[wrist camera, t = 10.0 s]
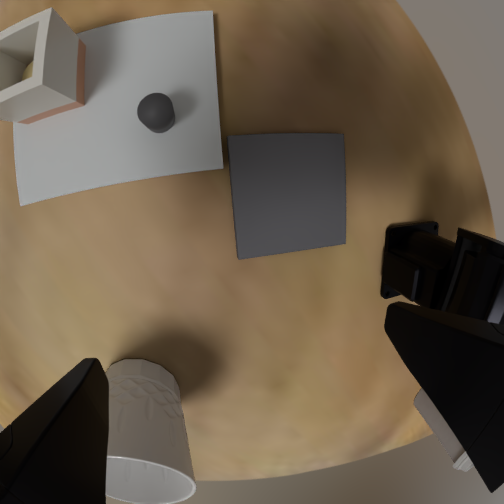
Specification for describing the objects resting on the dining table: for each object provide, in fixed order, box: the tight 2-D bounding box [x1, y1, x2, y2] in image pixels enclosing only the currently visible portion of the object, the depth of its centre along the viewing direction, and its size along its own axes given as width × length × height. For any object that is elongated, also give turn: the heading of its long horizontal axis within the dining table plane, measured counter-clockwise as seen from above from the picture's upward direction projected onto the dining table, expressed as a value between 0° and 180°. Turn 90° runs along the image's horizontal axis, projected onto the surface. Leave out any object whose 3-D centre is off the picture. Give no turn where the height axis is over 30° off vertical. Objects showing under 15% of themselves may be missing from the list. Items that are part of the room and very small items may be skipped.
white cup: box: [105, 359, 196, 504], centre depth 17 cm, size 8×8×10 cm
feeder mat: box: [227, 133, 346, 260], centre depth 19 cm, size 8×8×1 cm
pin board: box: [13, 11, 223, 206], centre depth 13 cm, size 14×11×4 cm
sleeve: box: [0, 7, 86, 124], centre depth 9 cm, size 4×4×6 cm
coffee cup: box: [414, 388, 474, 472], centre depth 26 cm, size 10×10×15 cm
